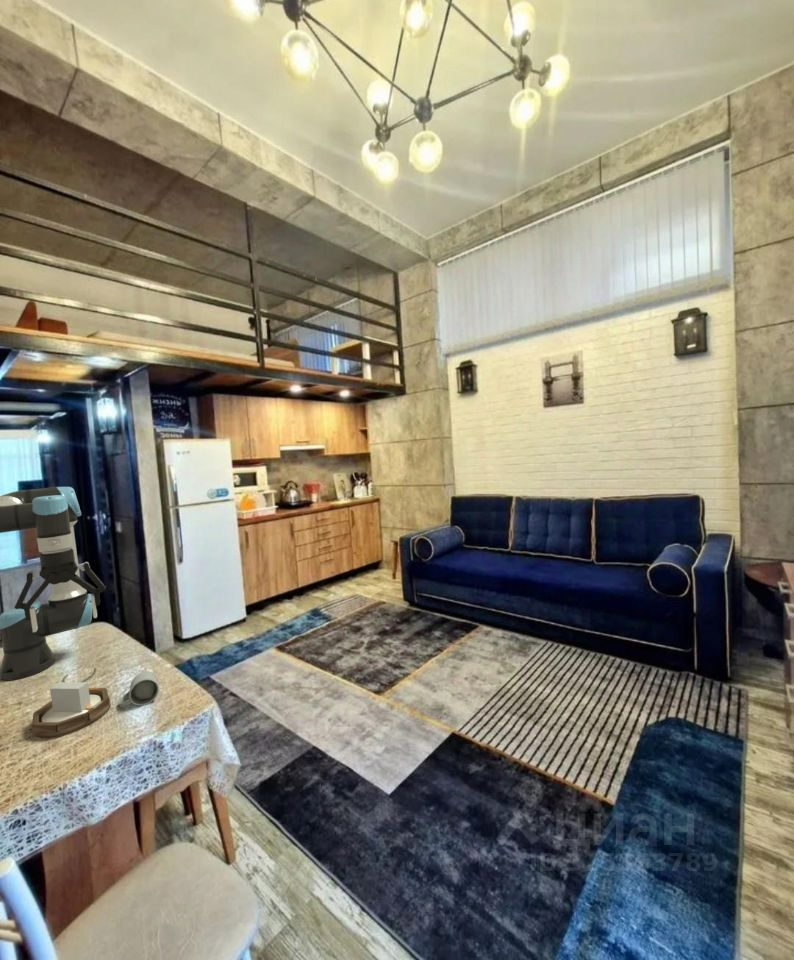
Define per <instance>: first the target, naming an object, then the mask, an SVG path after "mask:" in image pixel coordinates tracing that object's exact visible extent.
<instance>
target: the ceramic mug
mask: <svg viewBox="0 0 794 960" xmlns="http://www.w3.org/2000/svg"><path fill="white" fill-rule="evenodd" d="M159 689H160V687H159V680H158V677H157V675H156V674H155V673H154V672H152V671H142V672H139V673H137V674H136V675H135V676H134V677H133V679H132V680H131V682H130V688H129V691H128V692H126V693H125V694H124V695H122V697H121V698H120V699H119V700H118V706H119V707H120V708H125V707H128V706H129V705H131V704H133V705H135V706H139V707H140V706H142V707H143V706H145V705H148V704H150V703H152V702H153V701H154V700H155V699H156V697H158V694H159Z"/></svg>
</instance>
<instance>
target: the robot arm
mask: <svg viewBox="0 0 794 960" xmlns="http://www.w3.org/2000/svg"><path fill="white" fill-rule="evenodd" d="M81 516H82V511H81V509H80V504H79V501H78V498H77V495H76V492H75V489H74V488H73V487H72V486H53V487H46V488H45V487H43V488H36V489H33V488H32V489H23V490H17V491H12V492H9V493H6V494H2V495H0V534H4V533H9V532H16V531H26V530H33V529H35V531H36V540H37V548H38V552H39V563H40V571H32V570H30V571H28V573H26V582H25V583H24V586H23V588H22V590H21V592H20V594H19V597H18V598H17V600H16V603H15V605H14V606H13V607H11V608H9V609H7V610H5V611H3V612H2V613H1V614H0V636H1V644H2V650H3V657H2V660H1V664H0V680H3V681H13V680H19V679H24V678H28V677H30V676H33V675H36V674H39V673H41V672H43V671H45V670H47V669H49V668H50V667H52V666H53V665H54V664H55V662H56V657H55V653H54V652H53V651H52V649H51V648H50V646H49V645H48V643H47V639H46V638H47V637H48V636H51V635H53V636H54V635H55V634H60V633H64V632H68V631H72V630H77V629H79V628H82V627H86V626H88V625H90V624H91V622H92V619H97V618H98V610H97V606H100V605H101V599H100V594H101V593H103V592H106V589H107V588H106V587H107V586H106V585H105V584H104V583H103V582H102V580H101V579H100V578H99V577H98V576H97V574H96V573H95V572H94V571H93V570H92V569H91V566H90V563H89V561H85V562H83V563H79V560H78V559H79V558H78V554H77V553H78V552H77V544H76V543H77V542H76V537H75V527H74V526H75V525H76V524H77V522H78V517H81ZM80 570H81V571H82V572H85V574H86V575H87V576H88V578H90V580H91V581H92V582H93V583H94V584H95V585H96V586H97V588H96V587H95V586H93V584H91V583H89V582H88V581H86V580H84V579H83V578H82V577H81V575H80ZM39 576H40V578H42V579H43V580H44V581H43V582H42V584H41V585H40V586H39V587H38V588H37V589H36V591H35V592H34V593H33V594H32V596H31V597H30V598H29V600H27V601H26V602H24V601H25V599H26V597H27V595H28V593H29V591H30V589H31V587H32V584H33V582H34V581H35V580H37V578H38V577H39ZM49 584H51V591H52V592H51V593H52V594H50V595H49V597H48V598H47V600H48V603H47V602H46V603H42V602H41V601H40V600H37V599H38V598H39V597H40V596H41V594H43V592H44V590H45V589H46V588H47V587H48V586H49ZM88 592H89V593H88ZM92 617H93V618H92Z"/></svg>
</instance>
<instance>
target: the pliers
mask: <svg viewBox="0 0 794 960" xmlns="http://www.w3.org/2000/svg"><path fill="white" fill-rule="evenodd" d="M97 669H98V668H96V667H95V668H94V671H93V672H92V673H91V674H90V675H88V677H86V678H85V679H83V680H82V681H81V682H88V680H89V679H91V678H92V677H94V676H95V674H96V673H97V671H98V670H97ZM68 676H69V675H68V674H65V676H64V677H63V678H62V680H61V682H65V680H66V679H67V678H68Z"/></svg>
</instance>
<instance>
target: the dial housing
mask: <svg viewBox="0 0 794 960" xmlns="http://www.w3.org/2000/svg"><path fill="white" fill-rule="evenodd" d="M89 695H98V696H99V697H100V698H101V701H100V702H98V703H97V704H96V705H94V706H93V707H92V708H91V709H90V710H89V711H87V712H86V713H83V714H80V715H77V716H75V717H72V718H69V719H66V720H63V721H61V722H42V717H43V715H44V714H45V713H46V712H47V711H48V710H49V709H51V708H52V700H51V701H49V702H47V703H46V704H45V705H43V706H42V707H40V708H39V709H37V710H35V711H34V712H33V714H32V721H31V730H32V734H33V736H34V737H35V738H39V739H55V738H59V737H65V736H67V735H70V734H74V733H77V732H78V731H80V730H82V729H85V728H87V727H89V726H90V725H92V724H95V722H97V721H99V720H100V719H102V718H103V717H104V716H105V715H106V714H107V713H108V712H109V711H110V709H111V706H112V705H111V698H110V697H109V694H108V690H107V688H106V687H89Z"/></svg>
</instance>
